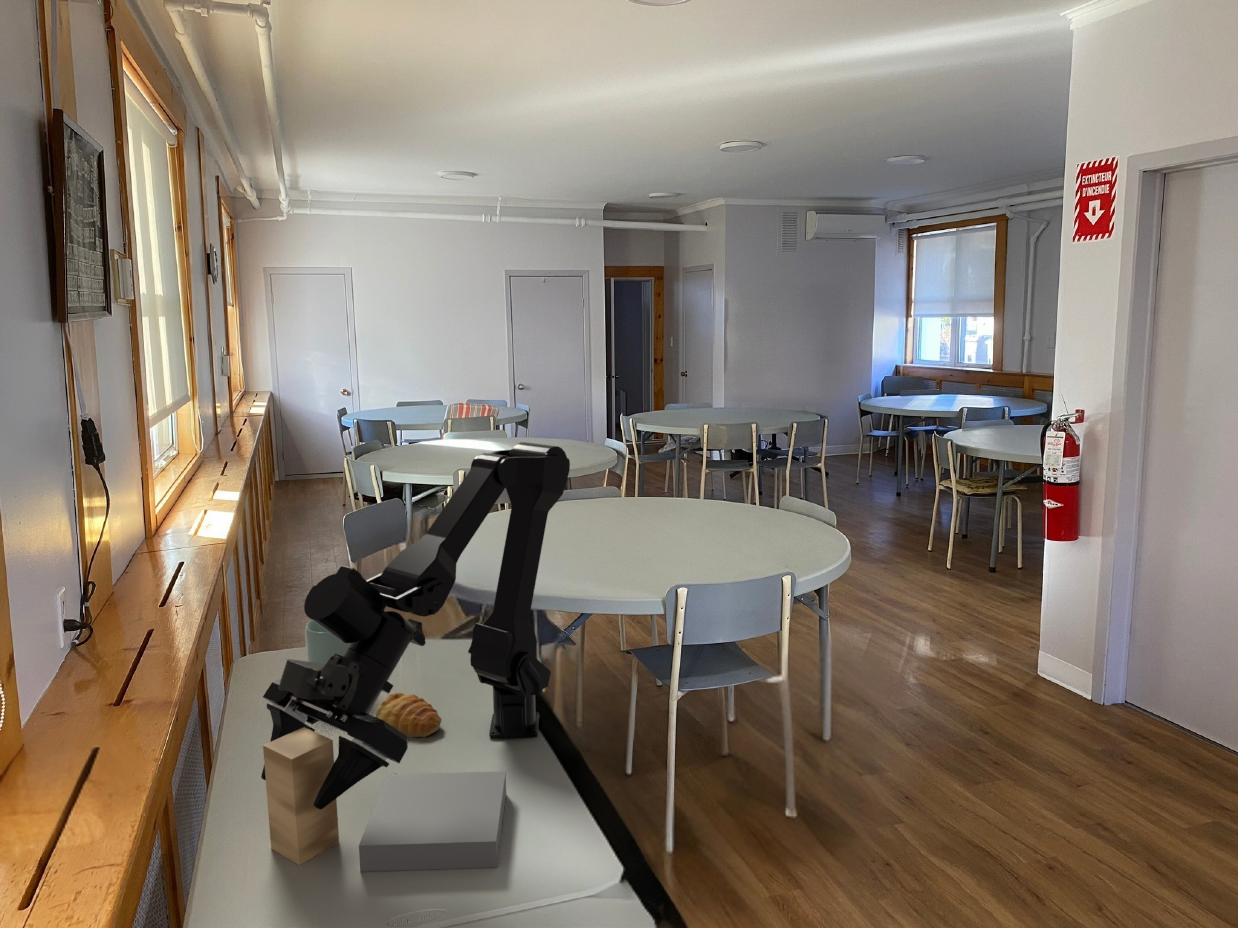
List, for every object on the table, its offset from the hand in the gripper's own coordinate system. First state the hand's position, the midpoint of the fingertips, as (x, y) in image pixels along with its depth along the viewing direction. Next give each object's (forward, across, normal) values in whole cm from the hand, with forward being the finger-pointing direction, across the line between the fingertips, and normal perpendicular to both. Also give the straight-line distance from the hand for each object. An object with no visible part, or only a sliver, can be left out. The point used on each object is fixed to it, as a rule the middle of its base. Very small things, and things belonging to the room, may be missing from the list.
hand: (290, 793), depth 96 cm
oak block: (+4, 0, +6) cm, 7 cm away
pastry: (-14, -13, +24) cm, 31 cm away
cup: (-16, -31, +25) cm, 43 cm away
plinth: (-4, +10, +13) cm, 17 cm away
